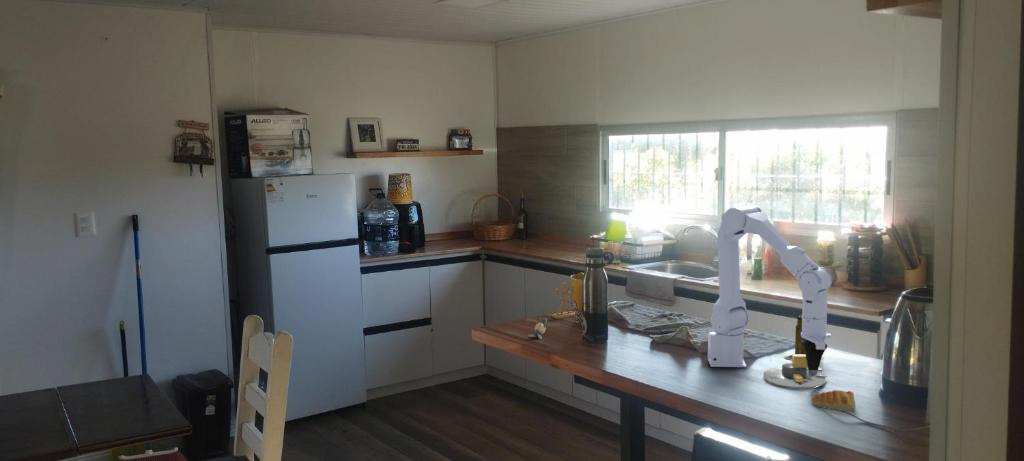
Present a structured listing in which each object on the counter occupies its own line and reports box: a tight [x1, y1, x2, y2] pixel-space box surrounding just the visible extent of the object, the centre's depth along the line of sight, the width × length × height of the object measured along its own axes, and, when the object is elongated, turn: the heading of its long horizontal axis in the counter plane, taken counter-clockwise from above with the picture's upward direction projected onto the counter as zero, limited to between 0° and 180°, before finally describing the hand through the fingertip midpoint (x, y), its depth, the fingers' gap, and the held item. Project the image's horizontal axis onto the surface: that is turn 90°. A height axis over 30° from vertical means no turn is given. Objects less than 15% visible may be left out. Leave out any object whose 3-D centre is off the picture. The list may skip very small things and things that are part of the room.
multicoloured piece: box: [781, 353, 808, 382], centre depth 199 cm, size 8×9×5 cm
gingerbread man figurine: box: [551, 282, 576, 320], centre depth 274 cm, size 9×4×12 cm, turn 117°
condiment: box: [783, 314, 825, 361], centre depth 218 cm, size 7×8×12 cm
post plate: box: [763, 365, 828, 390], centre depth 201 cm, size 16×15×3 cm
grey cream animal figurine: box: [528, 317, 548, 340], centre depth 249 cm, size 5×5×6 cm
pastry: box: [811, 389, 857, 411], centre depth 182 cm, size 9×7×4 cm
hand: (813, 369), depth 196 cm, fingers closed
